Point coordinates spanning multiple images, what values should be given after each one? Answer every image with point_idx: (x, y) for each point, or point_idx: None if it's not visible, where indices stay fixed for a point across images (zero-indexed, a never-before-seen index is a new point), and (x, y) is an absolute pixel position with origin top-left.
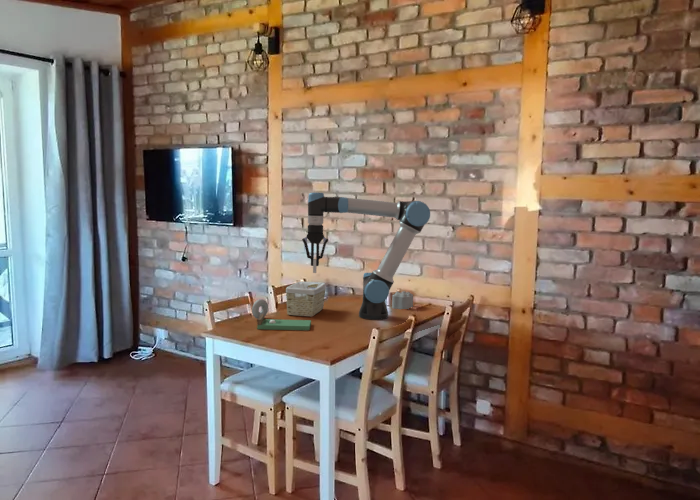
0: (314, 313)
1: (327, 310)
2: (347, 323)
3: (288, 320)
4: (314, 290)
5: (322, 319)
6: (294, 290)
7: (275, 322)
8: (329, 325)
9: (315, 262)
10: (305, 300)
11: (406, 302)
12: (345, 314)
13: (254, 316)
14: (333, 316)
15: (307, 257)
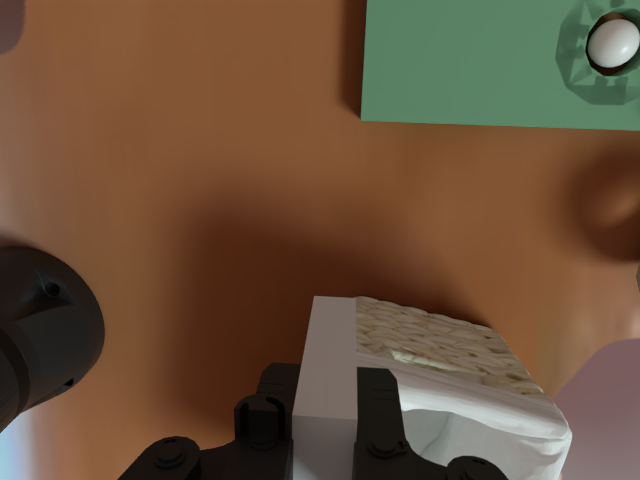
0: None
1: None
2: (151, 156)
3: (505, 103)
4: None
5: (296, 244)
6: (502, 400)
7: (596, 35)
8: (250, 98)
9: (312, 382)
10: (404, 347)
11: None
12: (178, 361)
13: None
14: (239, 315)
15: (496, 469)
